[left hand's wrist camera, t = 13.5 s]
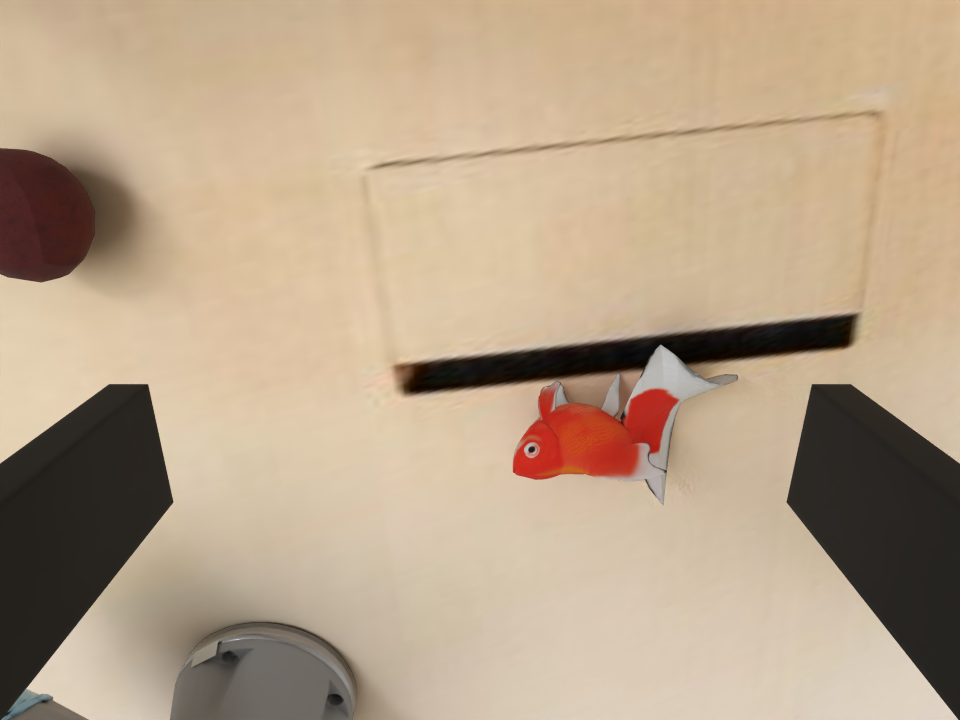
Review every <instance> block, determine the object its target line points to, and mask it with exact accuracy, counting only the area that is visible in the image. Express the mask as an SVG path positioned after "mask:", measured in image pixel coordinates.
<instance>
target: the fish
mask: <svg viewBox="0 0 960 720" xmlns="http://www.w3.org/2000/svg"><path fill="white" fill-rule="evenodd" d="M737 379H738V376H737V375H729V374H725V375H720V376H716V377H712V378H708V379H705V378H703V377H702V376H700V375H698V374H697V373H695V372H694V371H692V370H691V369H689V368H688V367H687V366H686V365H685V364H684V363H683V362H682V361H681V360H680V359H679V358H678V357H677V356H676V355H674V354H673V353H671V352H670V351H669V350H667V349H666V348H665V347H663V346H662V345H660V346H659V347H658V348H657V349H656V350H655V351H654V352H653V353H652V354H651V355H650V357H649V359H648V361H647V364H646V366H645V368H644V370H643V373H642V375H641V377H640V379H639V381H638V382H637V384H636V386H635V388H634V390H633V392H632V394H631V396H630V398H629V400H628V402H627V405H626V407H625V409H624V411H623V413H622V416H621V421H619V420H617V419H616V418H614V417H615V416H616V415H617V414H618V411H619V406H620V397H619V390H620V374H617V376H616V378H615V380H614V382H613V384H612V385H611V387H610V389H609V391H608V394H607V396H606V399H605V402H604V404H603V406H602V408H601V409H599V408H597V407H594V406H591V405H587V404H580V403H569V402H568V400H567V398H566V396H565V393H564V389H563V386H562V385H561V383H560V382H557V381H556V382H555V383H553V384H552V385H550V386H546V387H543V389H542V390H541V393H540V396H539V398H538V408H539V413H540V417H539V418H538V419H537V420H536V421H535V422H534V423H533V424H532V425H531V426H530V427H529V429H528V430H527V432H526V433H525V434H524V436H523V437H522V439H521V440H520V442H519V444H518V446H517V448H516V450H515V453H514V458H513V473H515V474H516V475H519V476H523V477H527V478H531V479H535V480H537V479H548V478H552V477H555V476H558V475H560V474H587V475H590V476H594V477H600V478H606V479H613V480H621V481H630V482H632V481H638V480H643V479H645V480H646V482H647V484H648V486H649V489H650V490H651V491H652V492H653V494H654V495H655V496H656V497H657V499H658V500H659V501H660V502H661V504H662V505H663V503H664V492H665V482H666V472H667V464H668V455H669V447H670V439H671V434H672V429H673V424H674V419H675V415H676V413H677V410H678V408H679V405H680V403H681V402H682V401H684V400H686V399H689V398H691V397H693V396H696V395H698V394H700V393H703V392H706V391H709V390H712V389H715V388H717V387H720V386H723V385H726V384H729V383H732V382H735V381H737Z"/></svg>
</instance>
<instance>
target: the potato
mask: <svg viewBox="0 0 960 720" xmlns="http://www.w3.org/2000/svg"><path fill="white" fill-rule="evenodd" d="M94 226H95V210H94V208H93V206H92V203H91V201H90V198H89V196H88V193H87V192H86V191H85V189H84V188H83V186H82V185H81V183H80V182H79V181H78V179H77V178H76V177H75V176H74V175H73V174H72V173H71V172H70V171H69V170H68V169H67V168H66V167H64V166H63V165H61V164H59V163H58V162H56V161H55V160H53V159H52V158H50V157H47V156H44V155H41V154H39V153H36V152H32V151H28V150H19V149H1V148H0V274H1V275H4V276H6V277H10V278H17V279H23V280H29V281H36V282H45V281H49V280H53V279H57V278H61V277H63V276H66V275H68V274H70V273H71V272H72V271H73V270H74V269H75V268H76V267H77V266H78V265H79V264H80V263H81V262H82V261H83V260H84V258H85V256H86V254H87V252H88V249H89V247H90V244H91V242H92V239H93V237H94Z"/></svg>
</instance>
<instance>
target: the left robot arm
mask: <svg viewBox="0 0 960 720" xmlns="http://www.w3.org/2000/svg"><path fill="white" fill-rule="evenodd" d="M172 503H173V498H172V494H171V489H170V484H169V480H168V475H167V470H166V466H165V461H164V456H163V452H162V447H161V442H160V438H159V433H158V429H157V424H156V419H155V415H154V410H153V405H152V401H151V396H150V391H149V387H148V384H109V385H108V386H106V387H105V388H104V389H102V390H101V391H99V392H98V393H97V394H95V395H94V396H93V397H91V398H90V399H88V400H87V401H86V402H84V403H83V404H82V405H80V406H79V407H77V408H76V409H75V410H73V411H72V412H71V413H69V414H68V415H66V416H65V417H64V418H62V419H61V420H60V421H58V422H57V423H55V424H54V425H53V426H51V427H50V428H49V429H47V430H46V431H44V432H43V433H42V434H40V435H39V436H38V437H36V438H35V439H34V440H32V441H31V442H29V443H28V444H27V445H25V446H24V447H23V448H21V449H20V450H18V451H17V452H16V453H14V454H13V455H12V456H10V457H9V458H7V459H6V460H5V461H3V462H2V463H1V464H0V720H88V719H86V718H84V717H82V716H81V715H79V714H77V713H75V712H73V711H71V710H70V709H68V708H66V707H64V706H62V705H60V704H58V703H57V702H55V701H53V697H52V696H50V695H48V694H41V695H39V694H36V693H34V692H32V691H30V690H28V689H26V688H27V687H28V686H29V684H30V683H31V682H32V680H33V679H34V678H35V677H36V675H37V674H38V673H39V672H40V670H41V669H42V668H43V667H44V665H45V664H46V663H47V661H48V660H49V659H50V658H51V656H52V655H53V654H54V653H55V651H56V650H57V649H58V648H59V646H60V645H61V644H62V642H63V641H64V640H65V639H66V637H67V636H68V635H69V634H70V632H71V631H72V630H73V629H74V627H75V626H76V625H77V624H78V622H79V621H80V620H81V618H82V617H83V616H84V615H85V613H86V612H87V611H88V610H89V608H90V607H91V606H92V605H93V603H94V602H95V601H96V599H97V598H98V597H99V596H100V594H101V593H102V592H103V591H104V589H105V588H106V587H107V586H108V584H109V583H110V582H111V581H112V579H113V578H114V577H115V575H116V574H117V573H118V572H119V570H120V569H121V568H122V567H123V565H124V564H125V563H126V562H127V560H128V559H129V558H130V556H131V555H132V554H133V553H134V551H135V550H136V549H137V548H138V546H139V545H140V544H141V543H142V541H143V540H144V539H145V537H146V536H147V535H148V534H149V532H150V531H151V530H152V529H153V527H154V526H155V525H156V524H157V522H158V521H159V520H160V519H161V517H162V516H163V515H164V513H165V512H166V511H167V510H168V508H169V507H170V506H171V505H172ZM787 503H788V505H789V506H790V507H791V508H792V510H793V511H794V512H795V513H796V515H797V516H798V517H799V519H800V520H801V521H802V522H803V524H804V525H805V526H806V527H807V529H808V530H809V531H810V532H811V534H812V535H813V536H814V537H815V539H816V540H817V541H818V543H819V544H820V545H821V546H822V548H823V549H824V550H825V551H826V553H827V554H828V555H829V556H830V558H831V559H832V560H833V562H834V563H835V564H836V565H837V567H838V568H839V569H840V570H841V572H842V573H843V574H844V575H845V577H846V578H847V579H848V581H849V582H850V583H851V584H852V586H853V587H854V588H855V589H856V591H857V592H858V593H859V594H860V596H861V597H862V598H863V599H864V601H865V602H866V603H867V605H868V606H869V607H870V608H871V610H872V611H873V612H874V613H875V615H876V616H877V617H878V618H879V620H880V621H881V622H882V624H883V625H884V626H885V627H886V629H887V630H888V631H889V632H890V634H891V635H892V636H893V637H894V639H895V640H896V641H897V642H898V644H899V645H900V646H901V648H902V649H903V650H904V651H905V653H906V654H907V655H908V656H909V658H910V659H911V660H912V661H913V663H914V664H915V665H916V667H917V668H918V669H919V670H920V672H921V673H922V674H923V675H924V677H925V678H926V679H927V680H928V682H929V683H930V684H931V686H932V687H933V688H934V689H935V691H936V692H937V693H938V694H939V696H940V697H941V698H942V699H943V701H944V702H945V703H946V704H947V706H948V707H949V708H950V710H951V711H952V712H953V713H954V715H955V716H956V717H957V718H958V720H960V464H959V463H958V462H957V461H955V460H954V459H953V458H951V457H950V456H948V455H947V454H946V453H944V452H943V451H942V450H940V449H939V448H937V447H936V446H935V445H933V444H932V443H931V442H929V441H928V440H926V439H925V438H924V437H922V436H921V435H920V434H918V433H917V432H916V431H914V430H913V429H911V428H910V427H909V426H907V425H906V424H905V423H903V422H902V421H900V420H899V419H898V418H896V417H895V416H894V415H892V414H891V413H889V412H888V411H887V410H885V409H884V408H883V407H881V406H880V405H878V404H877V403H876V402H874V401H873V400H872V399H870V398H869V397H867V396H866V395H865V394H863V393H862V392H861V391H859V390H858V389H856V388H855V387H854V386H852V385H851V384H812V387H811V391H810V396H809V401H808V405H807V410H806V415H805V419H804V424H803V429H802V433H801V438H800V442H799V447H798V452H797V456H796V461H795V466H794V470H793V475H792V480H791V484H790V489H789V494H788V498H787ZM356 698H357V690H356V683H355V680H354V677H353V674H352V672H351V670H350V668H349V666H348V665H347V663H346V662H345V661H344V659H343V658H342V657H341V656H340V655H339V654H338V653H337V652H336V651H335V650H334V649H333V648H332V647H330V646H329V645H328V644H326V643H325V642H323V641H322V640H320V639H319V638H317V637H315V636H313V635H311V634H309V633H307V632H304V631H302V630H299V629H296V628H293V627H289V626H285V625H280V624H273V623H246V624H240V625H235V626H231V627H227V628H224V629H222V630H219V631H217V632H215V633H213V634H211V635H210V636H208V637H206V638H205V639H204V640H202V641H201V642H200V643H199V644H198V645H197V646H196V647H195V648H194V650H193V651H192V652H191V654H190V655H189V657H188V659H187V661H186V662H185V664H184V666H183V668H182V670H181V672H180V674H179V676H178V678H177V681H176V685H175V690H174V696H173V703H172V710H171V717H170V720H352V719H353V714H354V709H355V705H356Z"/></svg>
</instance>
